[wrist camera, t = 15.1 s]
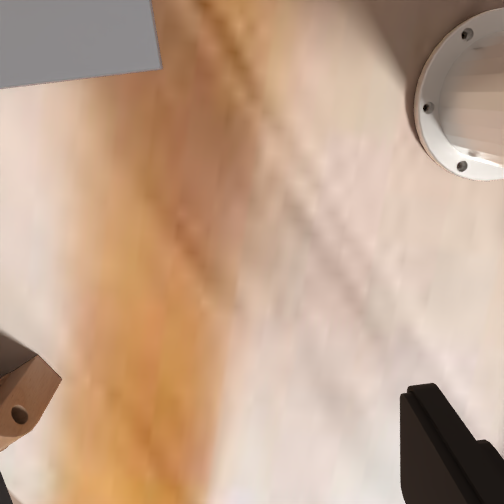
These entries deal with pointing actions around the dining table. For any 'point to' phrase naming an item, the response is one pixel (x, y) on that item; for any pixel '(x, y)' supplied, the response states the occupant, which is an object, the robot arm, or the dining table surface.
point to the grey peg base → (75, 40)
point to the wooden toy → (25, 398)
